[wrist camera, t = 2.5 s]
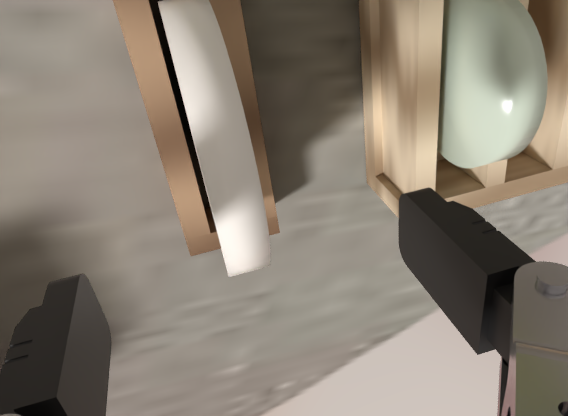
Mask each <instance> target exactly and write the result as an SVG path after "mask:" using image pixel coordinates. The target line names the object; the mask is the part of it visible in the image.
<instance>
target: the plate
mask: <svg viewBox="0 0 568 416" xmlns="http://www.w3.org/2000/svg"><path fill="white" fill-rule="evenodd" d="M158 5H159V9H160V13H161V17H162V21H163V25H164V29H165V33H166V37H167V41H168V44H169V48H170V52H171V56H172V60H173V64H174V68H175V72H176V76H177V80H178V83H179V87H180V91H181V95H182V99H183V103H184V107H185V111H186V114H187V118H188V122H189V126H190V130H191V134H192V138H193V142H194V145H195V149H196V153H197V157H198V161H199V165H200V169H201V172H202V176H203V180H204V184H205V188H206V192H207V196H208V200H209V203H210V207H211V211H212V215H213V219H214V223H215V226H216V230H217V234H218V238H219V242H220V246H221V249H222V253H223V257H224V261H225V265H226V268H227V272H228V276H229V277H231V276H235V275H238V274H242V273H246V272H249V271H253V270H257V269H260V268H264V267H267V266H269V265H270V263H271V248H270V238H269V230H268V224H267V217H266V211H265V206H264V200H263V195H262V190H261V184H260V179H259V175H258V170H257V165H256V161H255V156H254V151H253V147H252V143H251V138H250V134H249V130H248V126H247V122H246V118H245V114H244V110H243V106H242V102H241V98H240V94H239V91H238V87H237V83H236V80H235V76H234V72H233V69H232V65H231V62H230V59H229V55H228V52H227V49H226V45H225V42H224V39H223V36H222V33H221V30H220V27H219V24H218V22H217V19H216V16H215V13H214V11H213V9H212V6H211V4H210V2H209V0H163V1H158Z"/></svg>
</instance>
